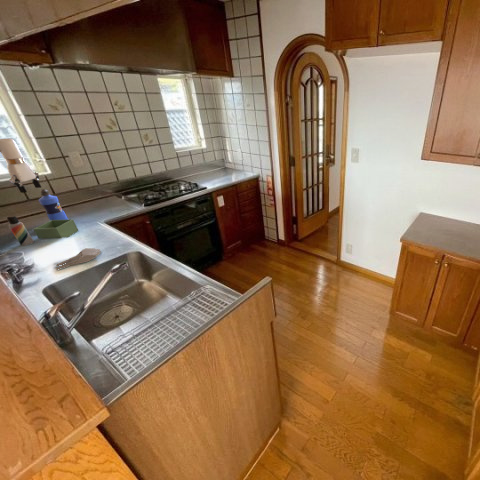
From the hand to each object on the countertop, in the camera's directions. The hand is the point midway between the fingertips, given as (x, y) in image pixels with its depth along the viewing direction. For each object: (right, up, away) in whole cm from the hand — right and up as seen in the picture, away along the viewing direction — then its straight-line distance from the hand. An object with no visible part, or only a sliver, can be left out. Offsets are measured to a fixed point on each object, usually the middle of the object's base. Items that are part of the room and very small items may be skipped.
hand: (31, 189), depth 160 cm
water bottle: (-10, -19, +29) cm, 36 cm away
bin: (+7, -28, +11) cm, 31 cm away
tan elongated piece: (+46, -43, -17) cm, 65 cm away
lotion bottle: (-1, -35, -1) cm, 35 cm away
